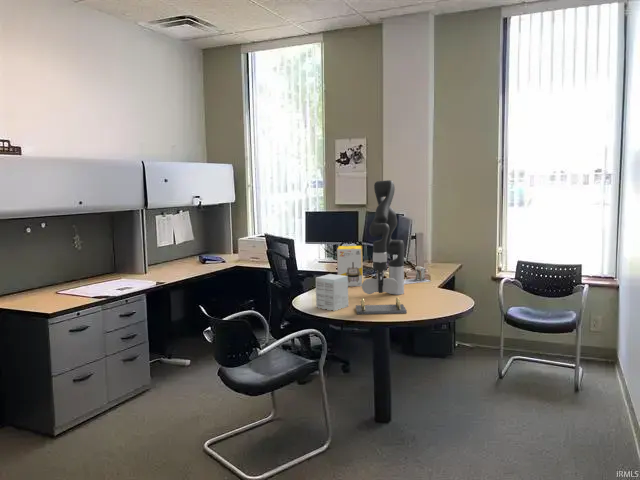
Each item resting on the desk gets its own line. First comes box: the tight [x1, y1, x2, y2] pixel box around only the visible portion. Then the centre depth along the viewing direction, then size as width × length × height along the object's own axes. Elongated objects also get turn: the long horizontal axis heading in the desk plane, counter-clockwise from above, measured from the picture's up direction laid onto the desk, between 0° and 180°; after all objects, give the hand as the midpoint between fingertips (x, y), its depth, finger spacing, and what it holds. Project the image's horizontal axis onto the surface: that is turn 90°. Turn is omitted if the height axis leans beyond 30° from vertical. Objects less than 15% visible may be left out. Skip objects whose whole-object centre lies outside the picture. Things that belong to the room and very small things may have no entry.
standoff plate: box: [355, 297, 407, 315], centre depth 288 cm, size 14×26×6 cm, turn 89°
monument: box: [404, 266, 431, 285], centre depth 363 cm, size 12×33×10 cm, turn 113°
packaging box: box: [336, 245, 364, 287], centre depth 362 cm, size 16×16×25 cm
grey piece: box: [361, 277, 398, 295], centre depth 287 cm, size 20×2×8 cm, turn 89°
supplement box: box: [315, 273, 349, 312], centre depth 298 cm, size 13×13×18 cm
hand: (380, 292), depth 287 cm, fingers closed on grey piece, 2 cm apart
